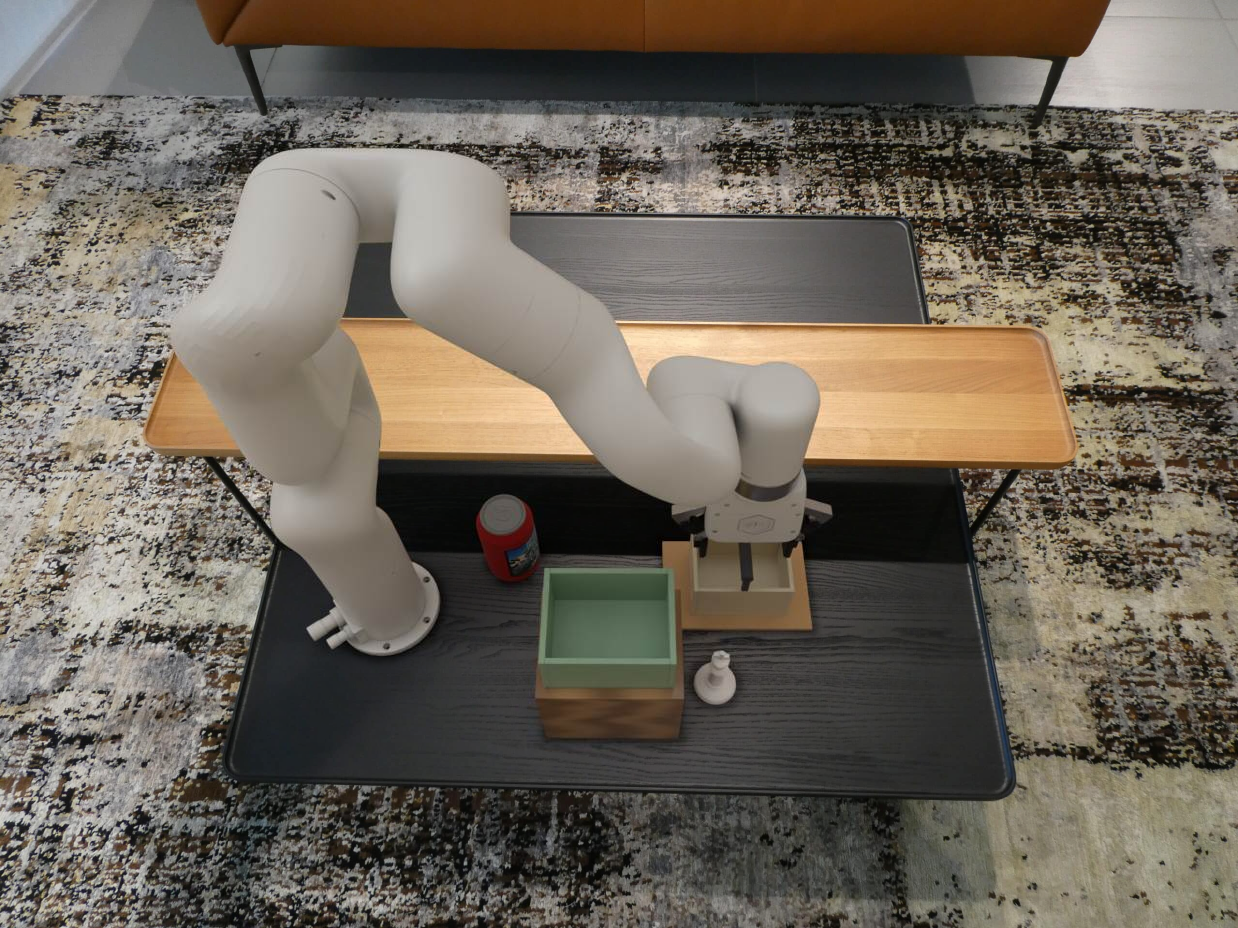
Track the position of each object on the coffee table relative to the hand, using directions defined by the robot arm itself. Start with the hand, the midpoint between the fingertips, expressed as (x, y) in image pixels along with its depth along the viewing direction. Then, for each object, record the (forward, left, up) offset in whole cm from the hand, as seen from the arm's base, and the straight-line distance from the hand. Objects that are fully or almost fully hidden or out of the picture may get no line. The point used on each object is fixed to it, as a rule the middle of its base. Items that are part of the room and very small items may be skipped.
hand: (743, 546), depth 97 cm
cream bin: (0, 0, -10) cm, 10 cm away
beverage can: (-20, +20, -11) cm, 30 cm away
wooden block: (-20, -1, -10) cm, 23 cm away
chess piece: (-10, -8, -11) cm, 17 cm away
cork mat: (0, 0, -10) cm, 10 cm away
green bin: (-20, -1, +4) cm, 20 cm away
